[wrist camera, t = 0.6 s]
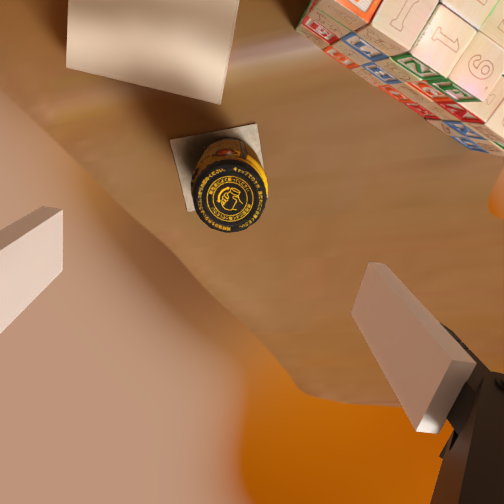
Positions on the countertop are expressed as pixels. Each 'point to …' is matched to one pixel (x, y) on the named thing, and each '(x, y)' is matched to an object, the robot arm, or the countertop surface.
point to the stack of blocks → (424, 58)
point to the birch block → (154, 43)
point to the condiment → (223, 176)
